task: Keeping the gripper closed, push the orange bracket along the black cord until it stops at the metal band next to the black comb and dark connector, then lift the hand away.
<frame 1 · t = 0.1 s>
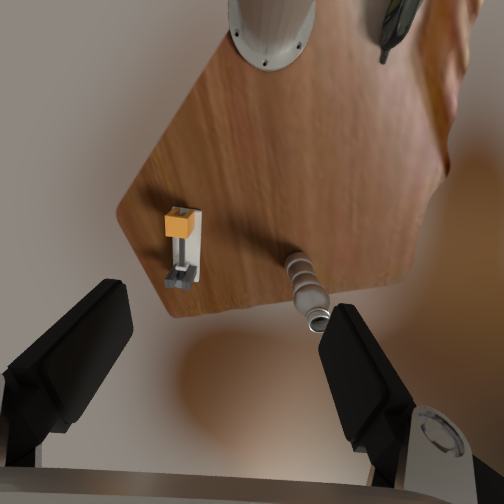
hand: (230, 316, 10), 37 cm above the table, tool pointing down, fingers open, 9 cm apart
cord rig: (187, 246, 49), on the table
orange bracket: (180, 222, 41), point 5 cm above the table, slide at 0.0 cm
plastic bottle: (296, 260, 51), on the table
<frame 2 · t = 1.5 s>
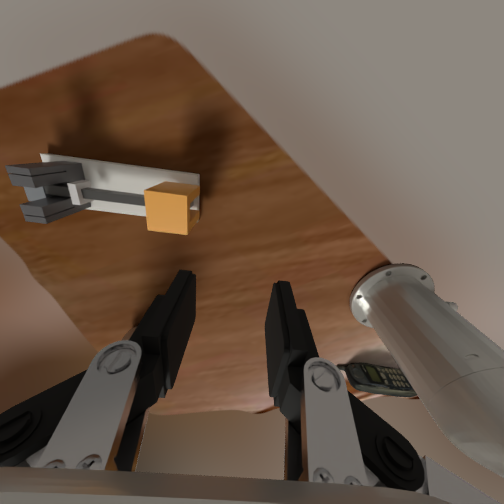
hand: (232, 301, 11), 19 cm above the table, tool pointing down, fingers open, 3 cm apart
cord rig: (128, 189, 27), on the table
orange bracket: (175, 206, 23), point 5 cm above the table, slide at 0.0 cm
mobile phone: (370, 366, 44), on the table
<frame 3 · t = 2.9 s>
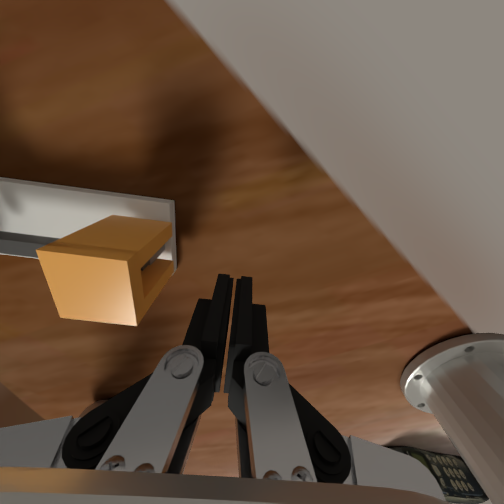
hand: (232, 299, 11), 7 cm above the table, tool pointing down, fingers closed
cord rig: (62, 222, 17), on the table
orange bracket: (123, 263, 13), point 5 cm above the table, slide at 0.0 cm
mobile phone: (414, 449, 32), on the table
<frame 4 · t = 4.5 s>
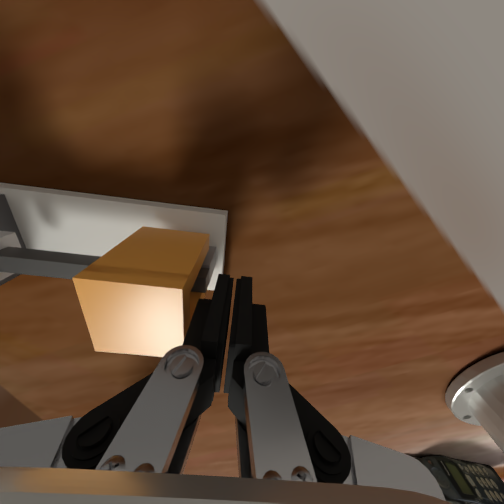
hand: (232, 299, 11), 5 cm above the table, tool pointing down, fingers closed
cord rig: (99, 235, 15), on the table
orange bracket: (160, 283, 11), point 5 cm above the table, slide at 1.3 cm, touching gripper
mobile phone: (444, 458, 32), on the table
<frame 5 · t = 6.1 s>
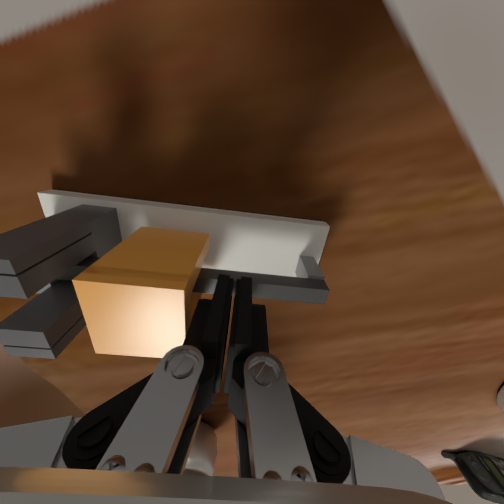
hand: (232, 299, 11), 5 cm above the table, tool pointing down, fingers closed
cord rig: (193, 246, 15), on the table
orange bracket: (161, 284, 11), point 5 cm above the table, slide at 8.1 cm, touching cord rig, gripper
plastic bottle: (194, 424, 27), on the table
mobile phone: (478, 454, 33), on the table
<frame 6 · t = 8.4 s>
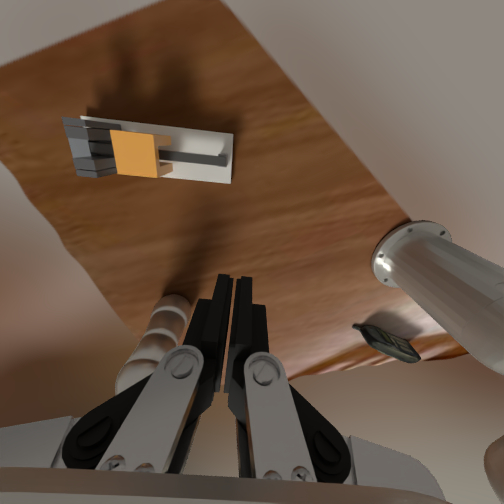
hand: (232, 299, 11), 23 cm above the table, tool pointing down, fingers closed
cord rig: (163, 152, 28), on the table
orange bracket: (146, 153, 23), point 5 cm above the table, slide at 7.9 cm
plastic bottle: (176, 302, 40), on the table
mobile phone: (379, 332, 46), on the table
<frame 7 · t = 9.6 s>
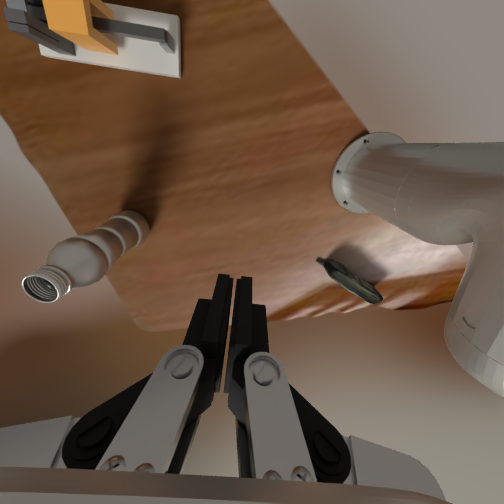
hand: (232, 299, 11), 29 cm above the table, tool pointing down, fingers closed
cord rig: (111, 39, 28), on the table
orange bracket: (83, 19, 24), point 5 cm above the table, slide at 7.9 cm
plastic bottle: (136, 223, 40), on the table
mobile phone: (344, 273, 45), on the table
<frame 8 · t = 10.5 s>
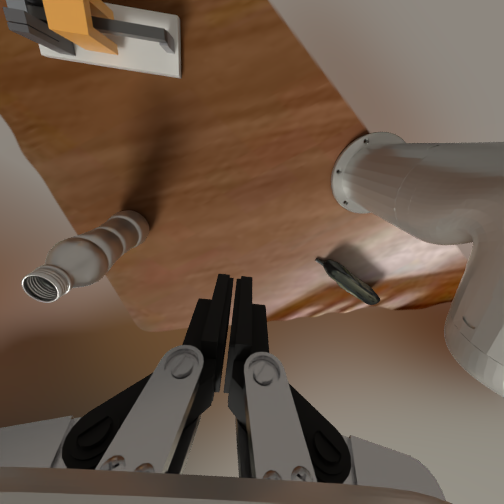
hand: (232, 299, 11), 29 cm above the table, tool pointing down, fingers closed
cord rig: (111, 39, 28), on the table
orange bracket: (83, 19, 24), point 5 cm above the table, slide at 7.9 cm
plastic bottle: (136, 223, 40), on the table
mobile phone: (342, 273, 45), on the table
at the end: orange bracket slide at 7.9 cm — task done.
